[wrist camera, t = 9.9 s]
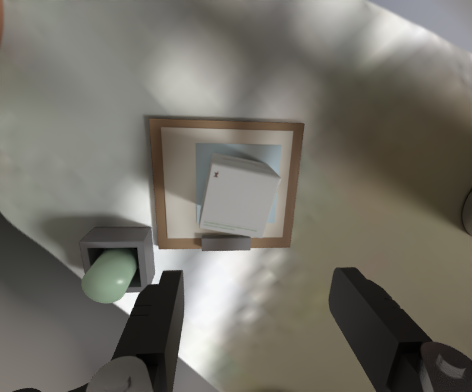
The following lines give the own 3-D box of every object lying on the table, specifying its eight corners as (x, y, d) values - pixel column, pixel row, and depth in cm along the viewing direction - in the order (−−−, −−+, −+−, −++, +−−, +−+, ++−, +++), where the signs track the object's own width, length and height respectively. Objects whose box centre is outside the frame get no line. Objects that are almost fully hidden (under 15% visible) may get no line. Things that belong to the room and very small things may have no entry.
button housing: (151, 227, 26) (143, 241, 23) (155, 273, 27) (148, 291, 25) (94, 227, 25) (79, 242, 22) (101, 274, 27) (88, 293, 24)
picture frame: (302, 123, 23) (307, 123, 22) (288, 245, 28) (292, 251, 26) (150, 118, 22) (146, 118, 21) (159, 246, 26) (157, 253, 25)
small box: (200, 207, 25) (196, 229, 20) (211, 150, 23) (211, 160, 18) (255, 217, 25) (264, 241, 21) (270, 163, 24) (284, 176, 19)
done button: (137, 243, 24) (123, 267, 21) (141, 274, 26) (128, 302, 22) (99, 243, 24) (78, 268, 20) (104, 275, 25) (85, 303, 21)
